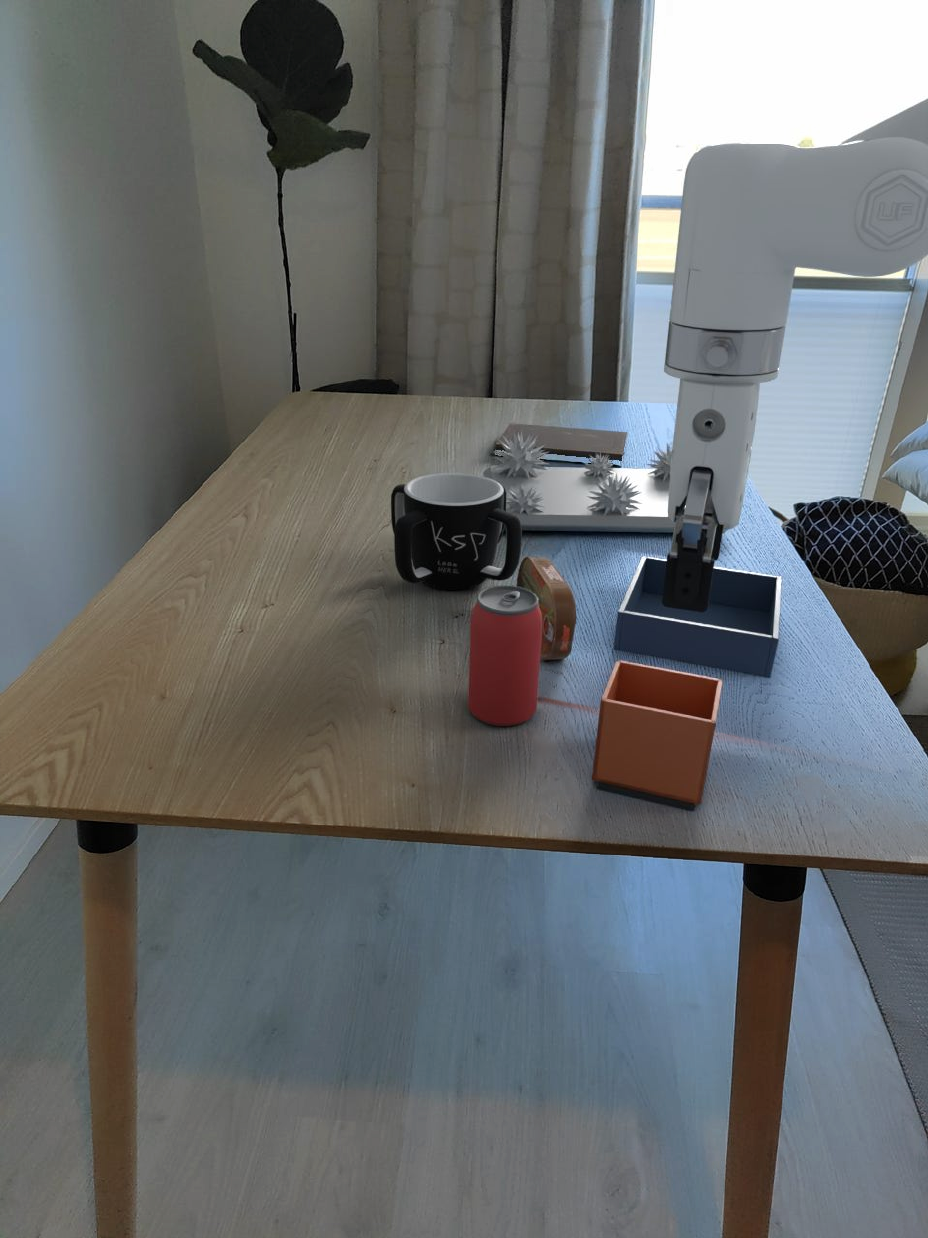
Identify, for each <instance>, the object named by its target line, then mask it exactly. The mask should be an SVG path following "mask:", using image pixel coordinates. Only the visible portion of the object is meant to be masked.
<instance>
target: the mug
mask: <svg viewBox="0 0 928 1238" xmlns="http://www.w3.org/2000/svg"><path fill="white" fill-rule="evenodd" d="M390 517H391V527H392V533H393V543H394V545H393V546H394V548H393V549H394V561H395V567H396V570H397V572H398V574H399V576H400V577H401V578H402V580H403V581H405V582H408V583H411V584H419V583H421V582H422V583H424V584H426V585H428V586H430V587H432V588H435V589H436V588H437V589H441V590H450V591H451V590H453V591H456V590H466V589H470V588H474V587H476V586H479V585H481V584H483V583H484V582H485V581H487V579H489V580H493V581H499V582H500V581H505V580H509V579H510V578H511V577H512V576H513V575H514V574H515V573H516V570H517V568H518V566H519V563H520V560H521V554H522V537H523V536H522V535H523V530H522V526H521V522H520V520H519V518H518V517H517V516H516V515H514V514H511V513H509V512H506V490H505V487H504V486H503V485H501V484H499V483H498V482H496V481H494V480H492V479H489V478H486V477H484V476H483V475H479V474H472V473H465V472H440V473H431V474H427V475H422V476H419V477H416V478H413V479H412V480H409V481H408V482H407V483H401V484H398V485H396V486H395V487H394V488H393V489H392V492H391V495H390ZM505 526H506V530H504V527H505ZM504 531H505V532H506V533H505V535H506V538H505V539H506V540H505V557H504V563H503V565H502V568H499V567H496V566H494V562H495V559H496V554H497V549H498V545H499V543H500V542H501V540H502V537H503V534H504Z"/></svg>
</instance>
